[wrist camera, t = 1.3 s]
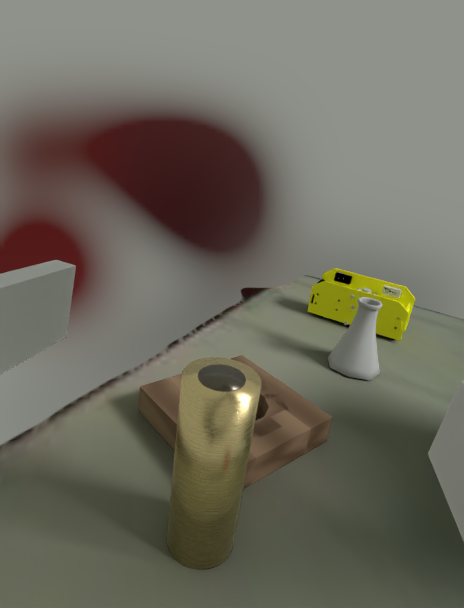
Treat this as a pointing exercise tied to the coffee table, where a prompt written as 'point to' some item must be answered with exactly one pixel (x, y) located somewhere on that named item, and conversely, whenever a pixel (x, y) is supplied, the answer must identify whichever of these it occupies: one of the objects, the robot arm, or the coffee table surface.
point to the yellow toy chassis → (345, 292)
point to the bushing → (210, 459)
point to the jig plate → (267, 429)
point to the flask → (359, 343)
